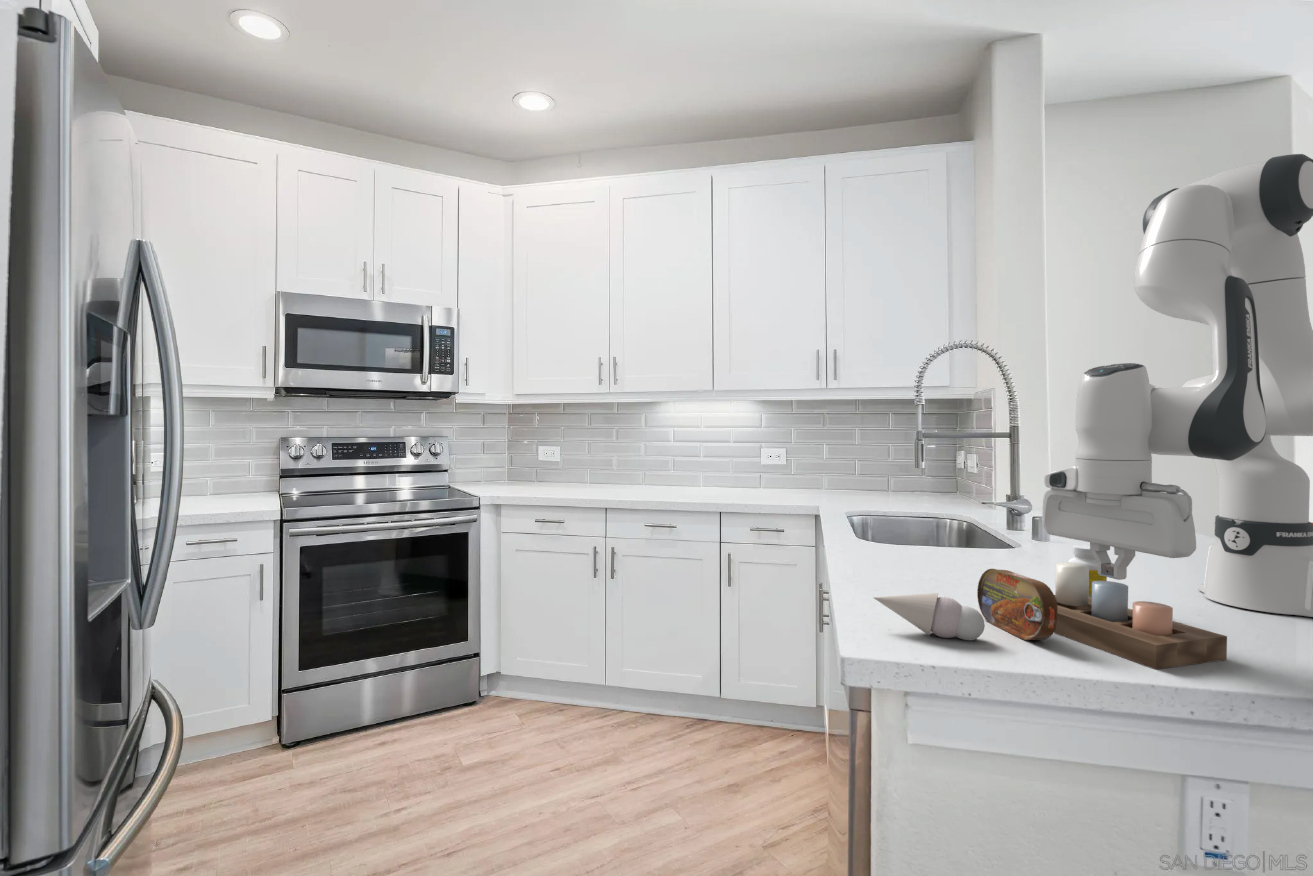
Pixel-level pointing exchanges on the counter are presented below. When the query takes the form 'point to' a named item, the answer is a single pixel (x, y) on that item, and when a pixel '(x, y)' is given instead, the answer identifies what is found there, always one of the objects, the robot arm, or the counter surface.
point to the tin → (1017, 604)
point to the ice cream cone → (937, 615)
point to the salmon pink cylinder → (1152, 618)
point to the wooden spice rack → (1140, 639)
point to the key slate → (1110, 601)
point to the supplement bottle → (1087, 563)
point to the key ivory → (1072, 584)
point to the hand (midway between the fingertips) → (1112, 577)
